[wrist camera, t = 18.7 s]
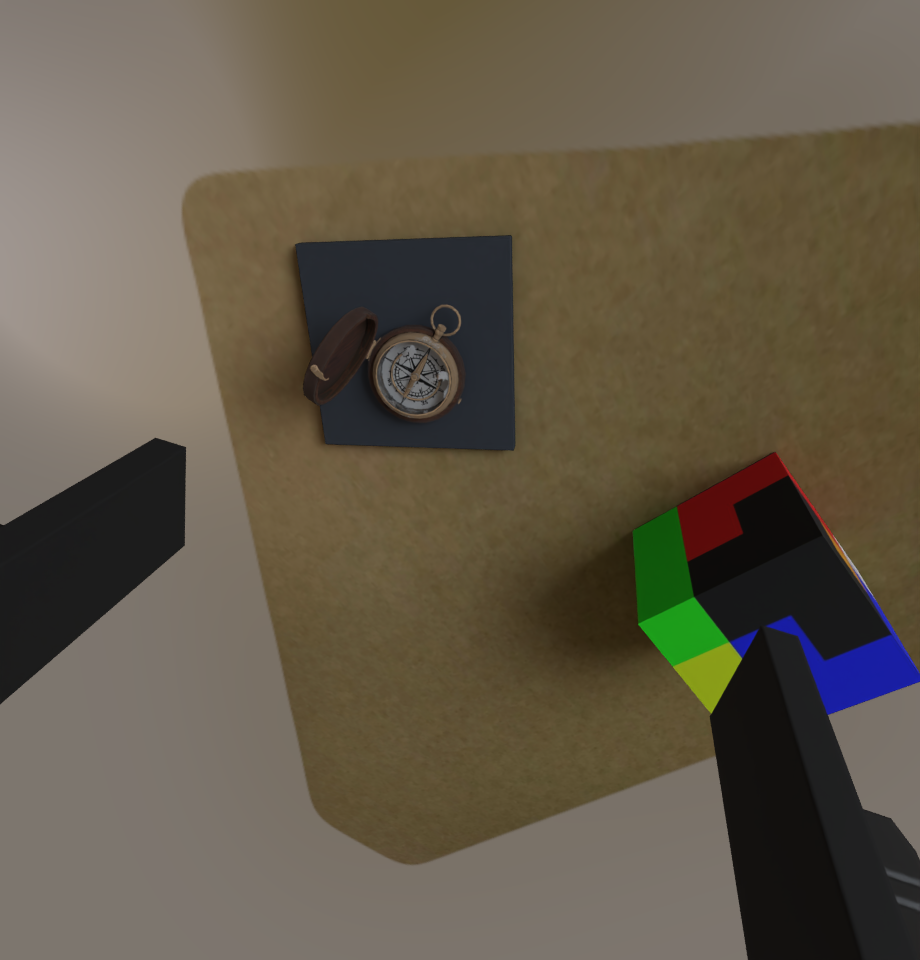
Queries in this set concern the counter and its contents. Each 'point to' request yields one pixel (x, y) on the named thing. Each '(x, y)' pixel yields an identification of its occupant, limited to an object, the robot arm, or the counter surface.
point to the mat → (410, 301)
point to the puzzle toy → (761, 590)
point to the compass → (390, 366)
